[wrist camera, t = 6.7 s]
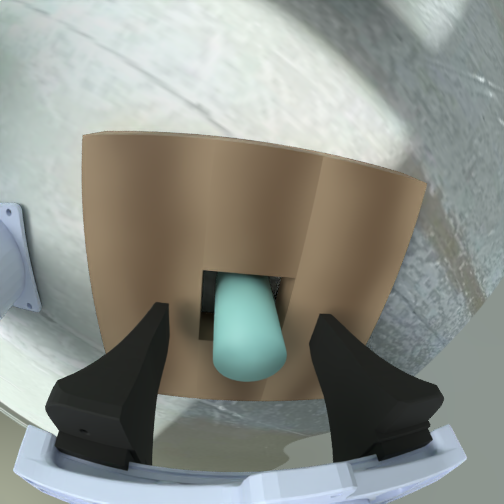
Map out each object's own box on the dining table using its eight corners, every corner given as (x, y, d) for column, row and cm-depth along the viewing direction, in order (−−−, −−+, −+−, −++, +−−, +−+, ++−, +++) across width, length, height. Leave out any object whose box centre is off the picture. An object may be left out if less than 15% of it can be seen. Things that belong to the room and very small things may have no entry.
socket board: (123, 361, 19) (115, 386, 16) (105, 131, 12) (82, 134, 10) (328, 373, 21) (336, 397, 19) (401, 172, 14) (427, 183, 12)
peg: (216, 302, 17) (214, 381, 12) (215, 257, 16) (211, 333, 10) (266, 302, 17) (282, 380, 12) (270, 258, 16) (291, 331, 10)
